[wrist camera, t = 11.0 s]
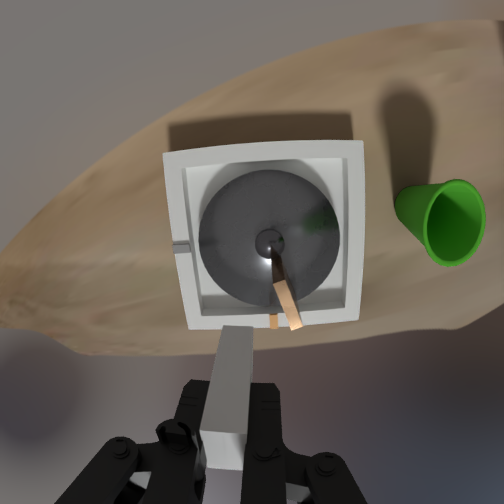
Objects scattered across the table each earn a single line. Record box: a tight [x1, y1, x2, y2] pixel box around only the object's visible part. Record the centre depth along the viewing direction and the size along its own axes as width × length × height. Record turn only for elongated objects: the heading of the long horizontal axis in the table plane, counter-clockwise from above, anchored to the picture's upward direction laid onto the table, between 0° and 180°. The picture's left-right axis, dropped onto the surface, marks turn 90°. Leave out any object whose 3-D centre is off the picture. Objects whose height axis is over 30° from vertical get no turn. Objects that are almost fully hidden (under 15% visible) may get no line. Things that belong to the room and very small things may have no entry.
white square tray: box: [163, 140, 365, 330], centre depth 34 cm, size 22×22×4 cm
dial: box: [198, 169, 340, 330], centre depth 30 cm, size 16×16×8 cm
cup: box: [395, 179, 486, 267], centre depth 28 cm, size 9×9×11 cm
